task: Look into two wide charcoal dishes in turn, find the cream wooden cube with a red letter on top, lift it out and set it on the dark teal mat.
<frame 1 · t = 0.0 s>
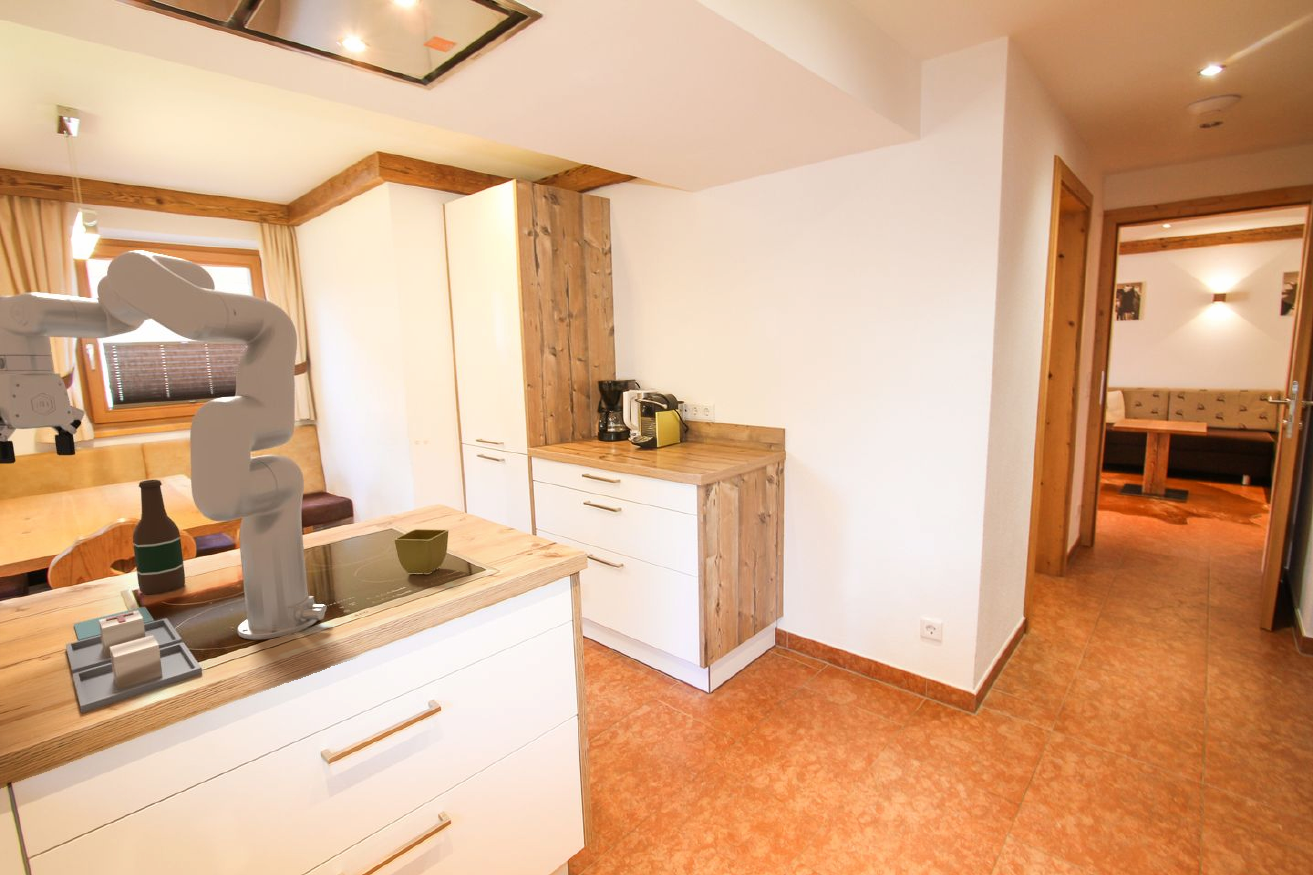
hand: (37, 459, 106), 31 cm above the table, tool pointing down, fingers open, 9 cm apart
letter cube: (124, 647, 98), resting on dish far
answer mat: (114, 626, 107), on the table
flower pot: (424, 572, 134), on the table
dish far: (125, 649, 98), on the table
plain cube: (138, 676, 88), resting on dish near
beer bottle: (163, 589, 126), on the table
dish near: (138, 679, 88), on the table
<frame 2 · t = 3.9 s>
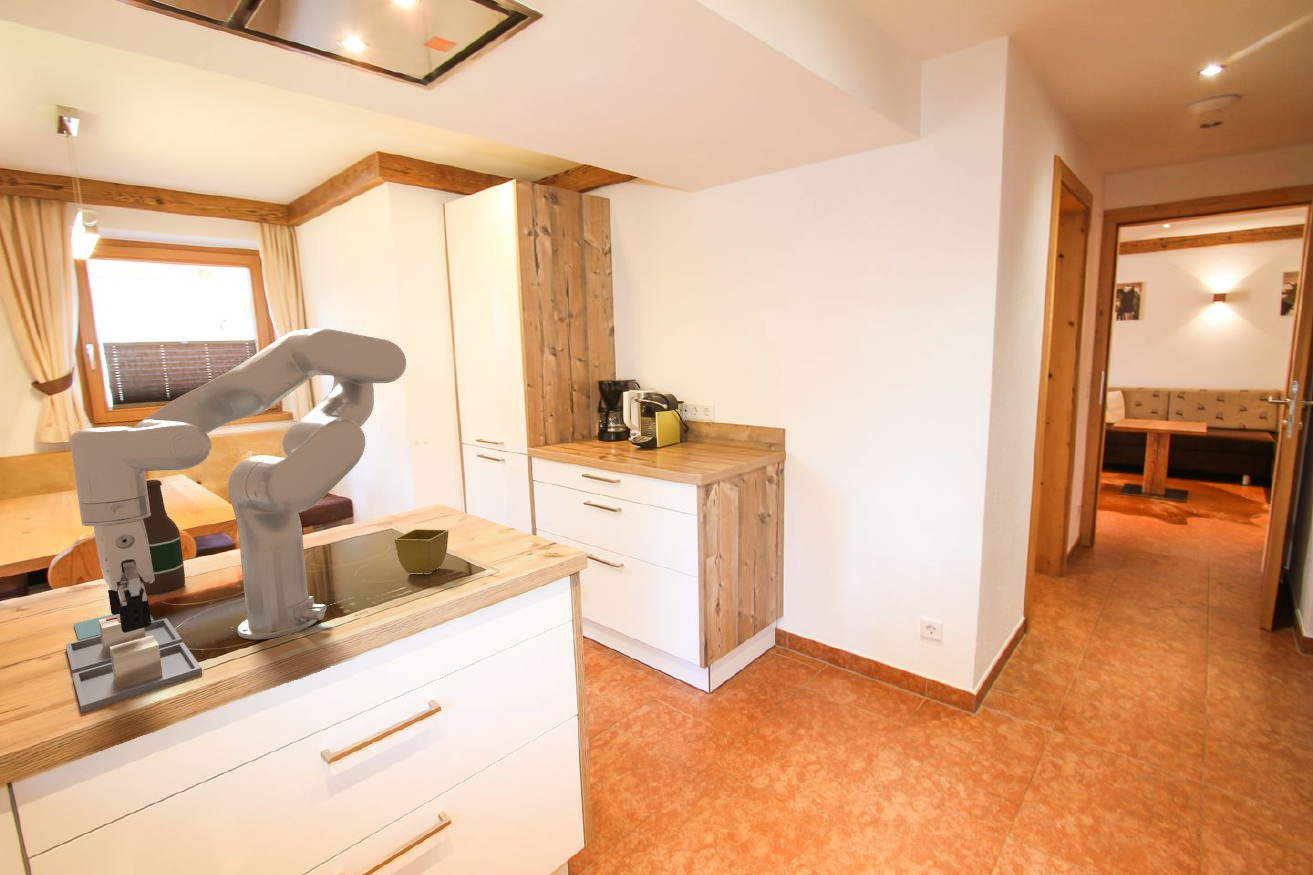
hand: (131, 619, 87), 9 cm above the table, tool pointing down, fingers open, 9 cm apart
nothing on the table moved.
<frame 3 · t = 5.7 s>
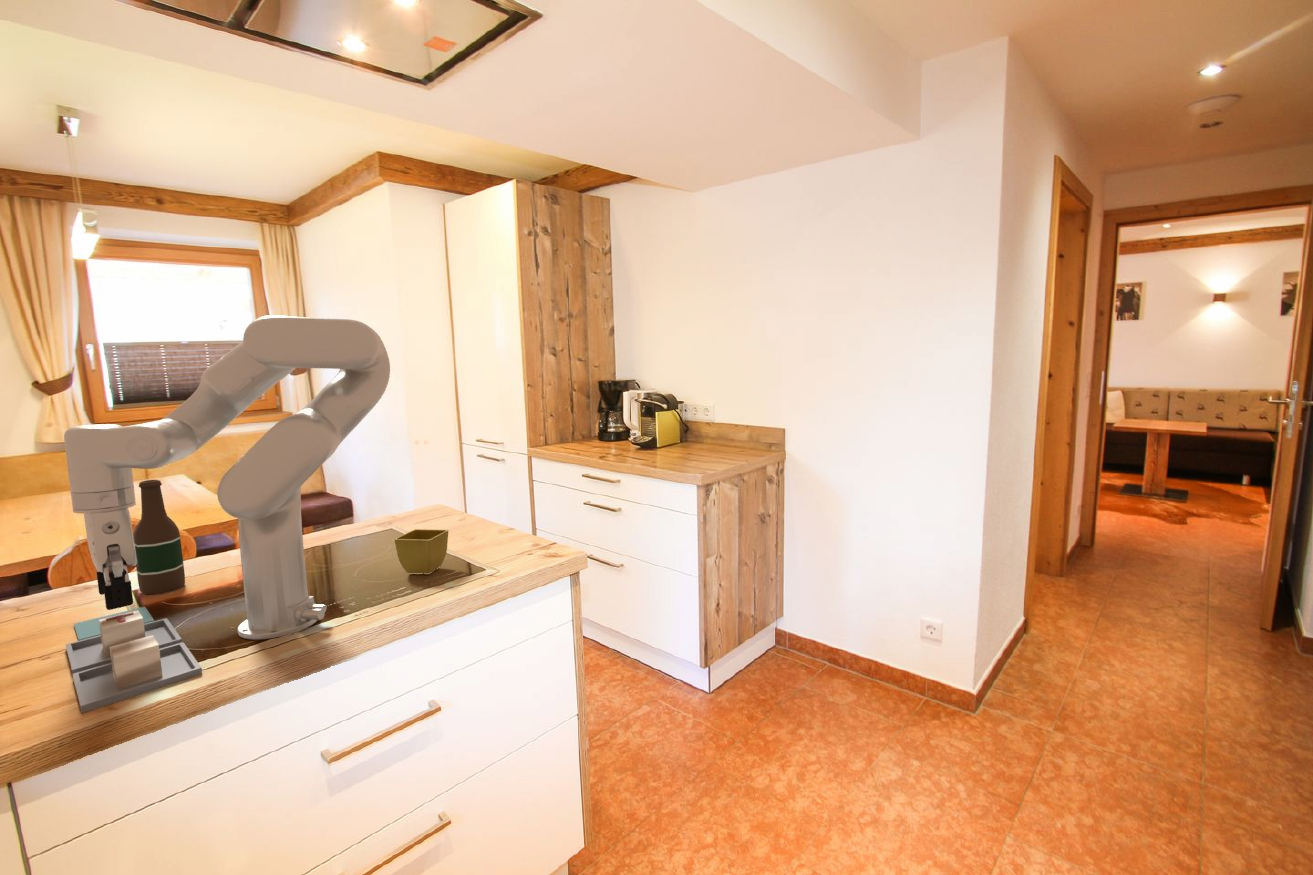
hand: (115, 599, 97), 9 cm above the table, tool pointing down, fingers open, 9 cm apart
nothing on the table moved.
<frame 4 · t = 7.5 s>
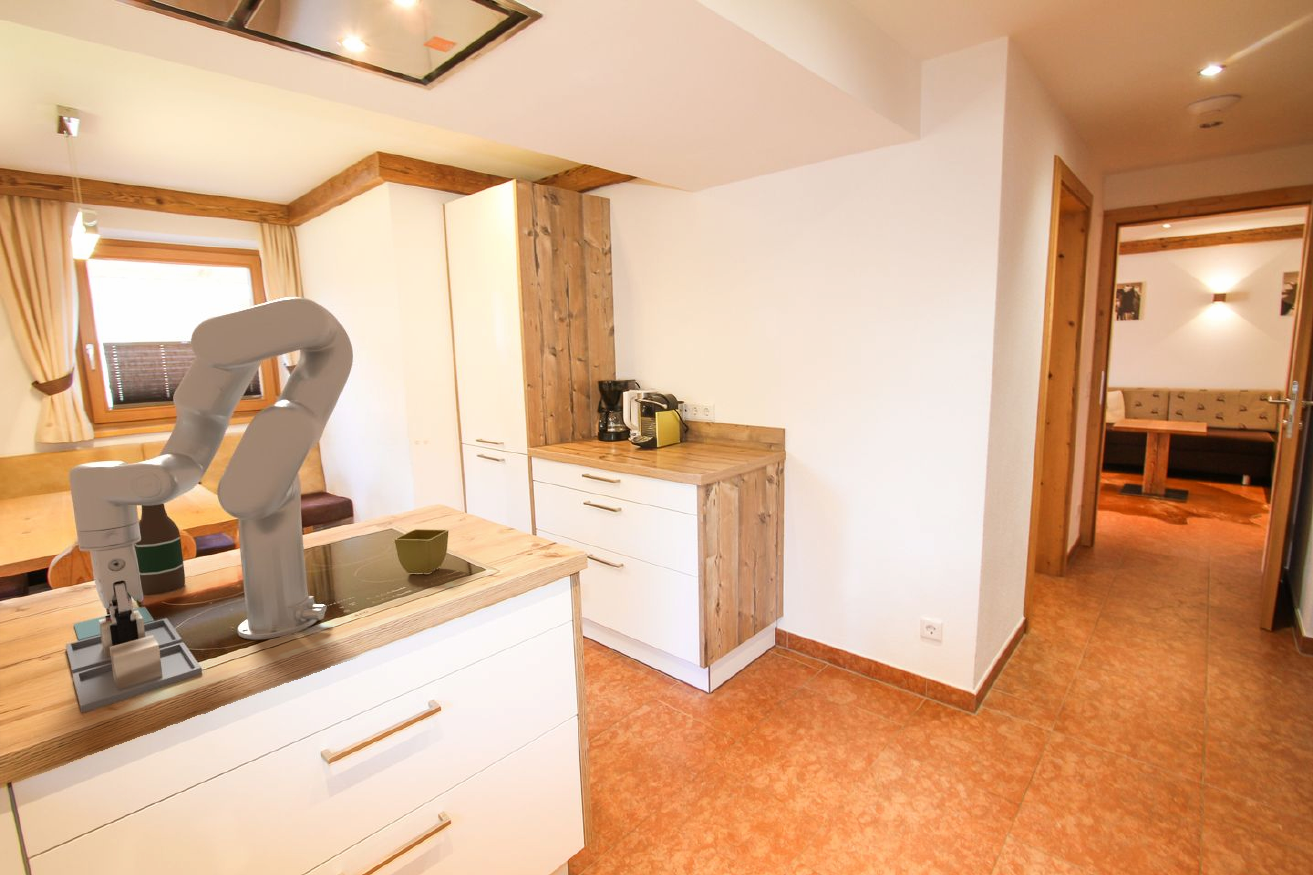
hand: (123, 639, 97), 2 cm above the table, tool pointing down, fingers closed on letter cube, 4 cm apart
letter cube: (124, 646, 98), resting on dish far, touching gripper
everything else where it was.
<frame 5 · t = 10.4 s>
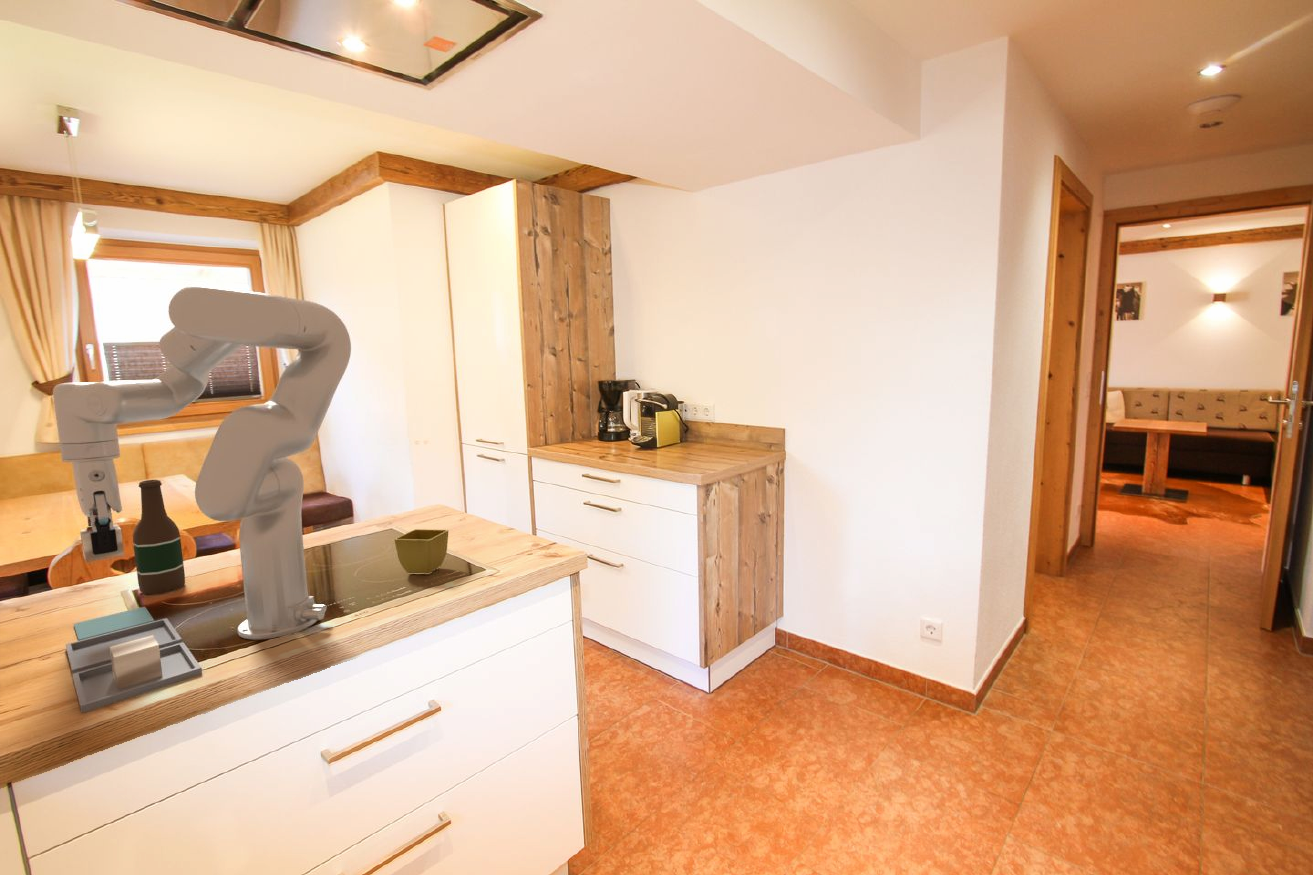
hand: (103, 548, 105), 15 cm above the table, tool pointing down, fingers closed on letter cube, 4 cm apart
letter cube: (104, 556, 105), point 13 cm above the table, touching gripper
everything else where it was.
when the fingers open (3 cm above the table, at t = 13.2 s): letter cube drops 1 cm, resting on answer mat.
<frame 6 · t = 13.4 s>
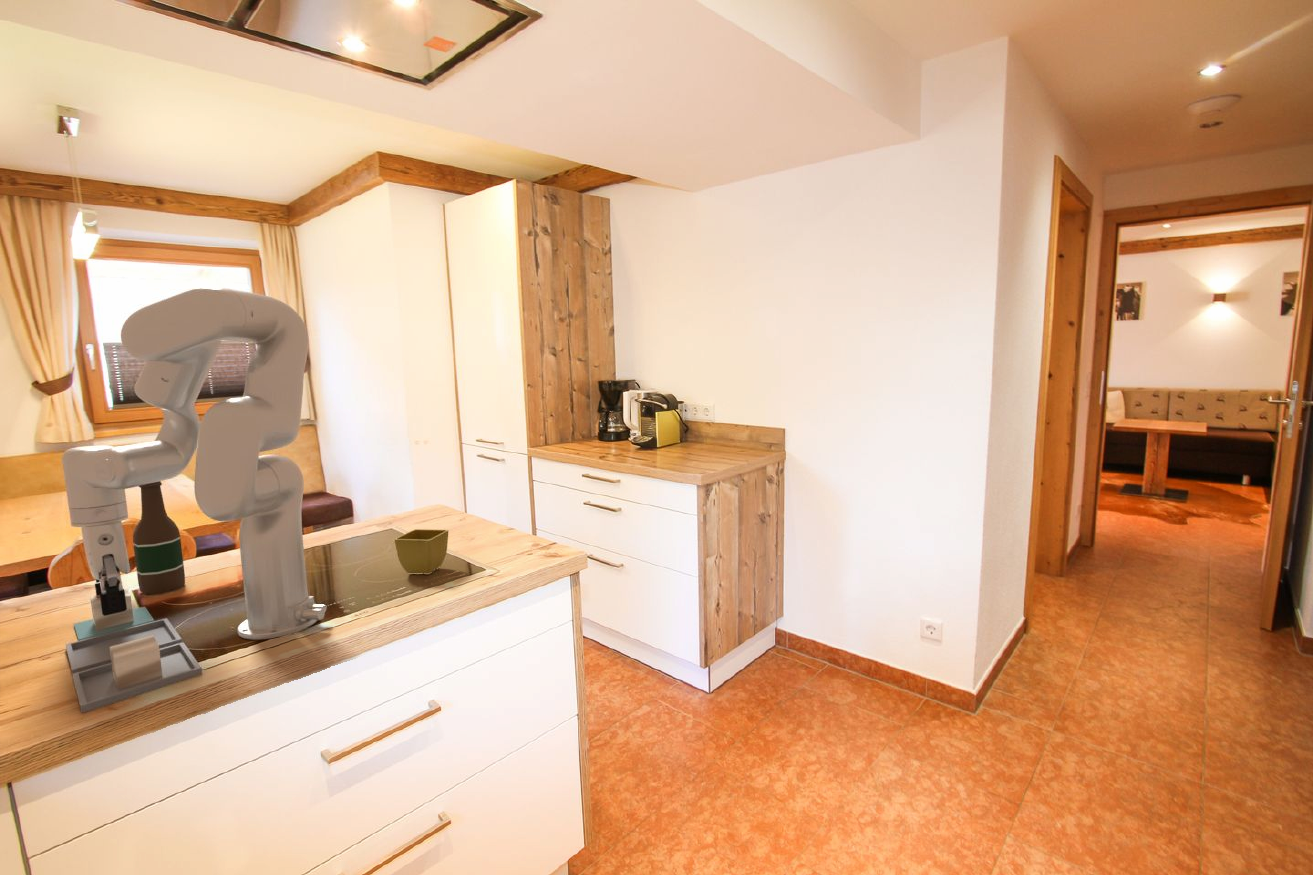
hand: (111, 606, 106), 4 cm above the table, tool pointing down, fingers open, 7 cm apart
letter cube: (113, 621, 107), point 1 cm above the table, touching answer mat
everything else where it was.
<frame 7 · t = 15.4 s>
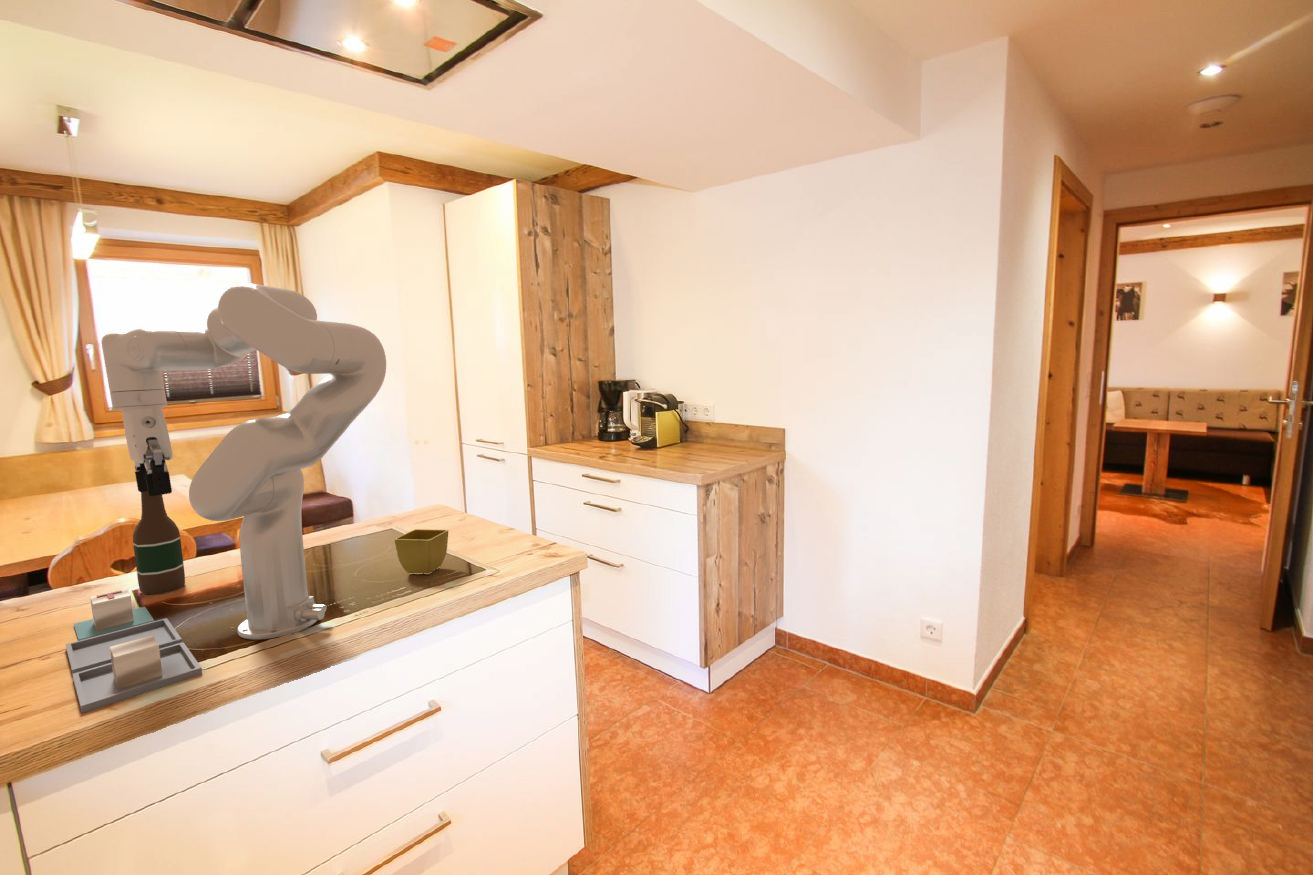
hand: (155, 492, 107), 25 cm above the table, tool pointing down, fingers open, 9 cm apart
nothing on the table moved.
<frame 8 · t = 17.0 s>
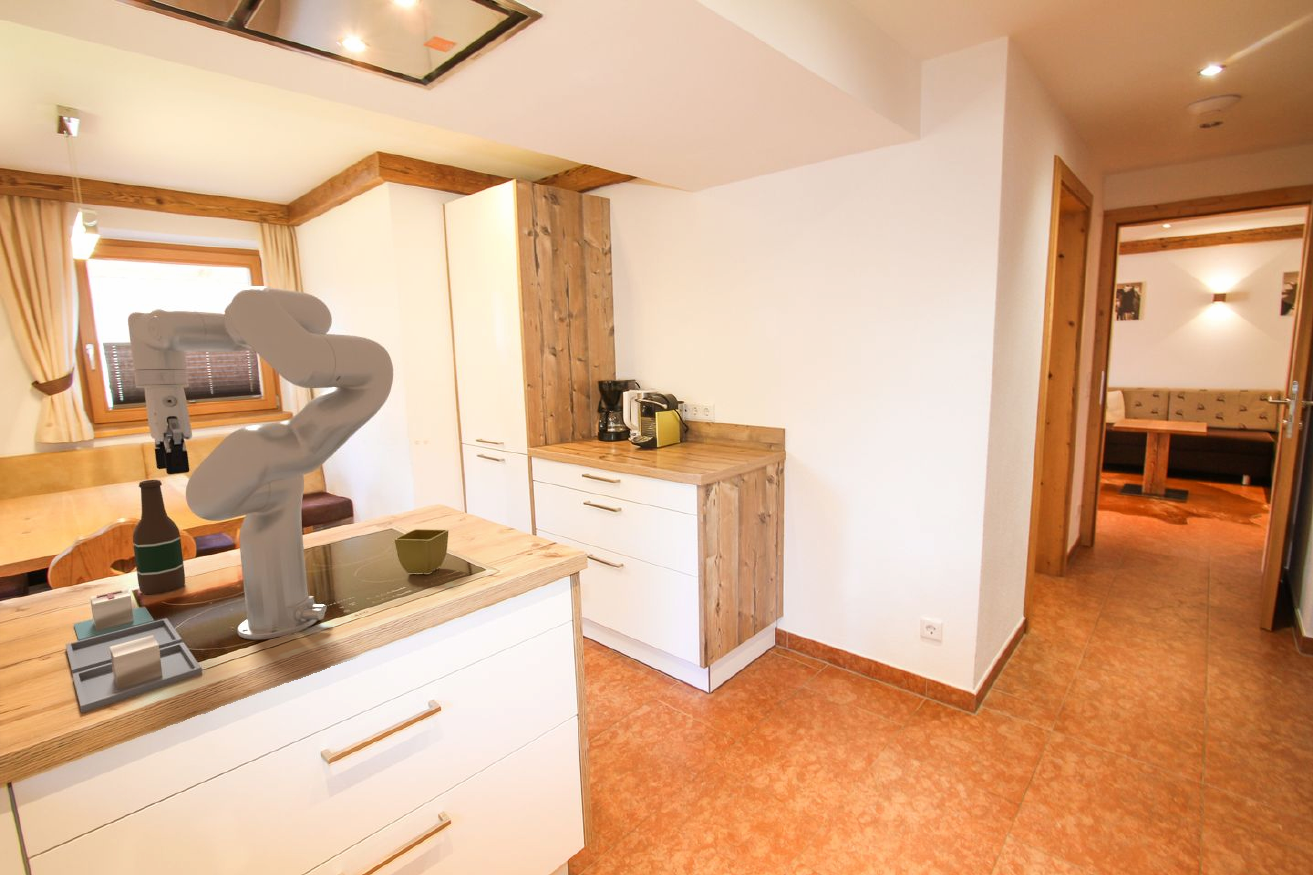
hand: (172, 470, 109), 28 cm above the table, tool pointing down, fingers open, 9 cm apart
nothing on the table moved.
at the end: letter cube 0.0 cm off-centre on the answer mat, point 0.8 cm above the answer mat's base; letter cube tilted 0°; plain cube moved 0.0 cm from its start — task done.
